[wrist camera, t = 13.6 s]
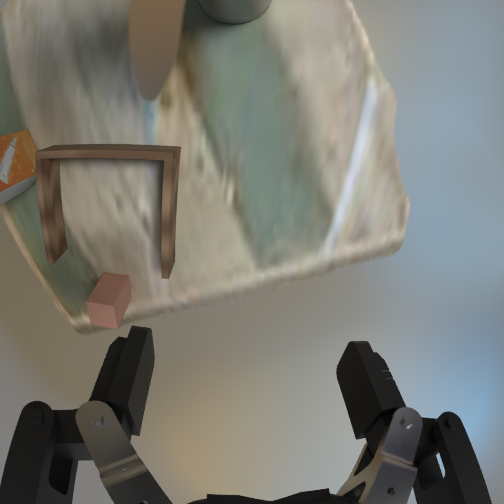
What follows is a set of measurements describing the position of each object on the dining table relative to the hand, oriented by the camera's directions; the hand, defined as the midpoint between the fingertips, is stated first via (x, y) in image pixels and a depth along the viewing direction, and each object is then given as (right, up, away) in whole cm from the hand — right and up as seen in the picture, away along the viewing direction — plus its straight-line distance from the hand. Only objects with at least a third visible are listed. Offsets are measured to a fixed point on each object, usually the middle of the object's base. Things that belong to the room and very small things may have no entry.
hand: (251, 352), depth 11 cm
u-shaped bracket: (-20, +11, +27) cm, 36 cm away
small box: (-35, +19, +22) cm, 46 cm away
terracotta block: (-22, -2, +34) cm, 40 cm away
